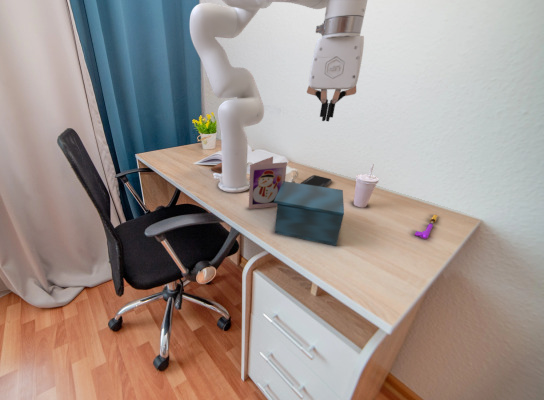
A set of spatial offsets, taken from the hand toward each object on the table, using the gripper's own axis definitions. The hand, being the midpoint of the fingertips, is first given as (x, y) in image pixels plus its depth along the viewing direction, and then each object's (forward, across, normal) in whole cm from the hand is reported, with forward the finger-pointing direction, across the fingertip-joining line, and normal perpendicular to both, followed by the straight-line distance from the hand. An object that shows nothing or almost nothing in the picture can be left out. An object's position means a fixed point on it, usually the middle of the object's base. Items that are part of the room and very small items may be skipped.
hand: (325, 120), depth 59 cm
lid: (+19, -1, -5) cm, 20 cm away
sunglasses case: (+29, -40, +33) cm, 60 cm away
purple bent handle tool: (+28, +31, +8) cm, 43 cm away
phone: (+28, -1, +25) cm, 38 cm away
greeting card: (+29, -15, +4) cm, 33 cm away
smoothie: (+29, +15, +15) cm, 35 cm away
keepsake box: (+28, 0, -5) cm, 29 cm away
